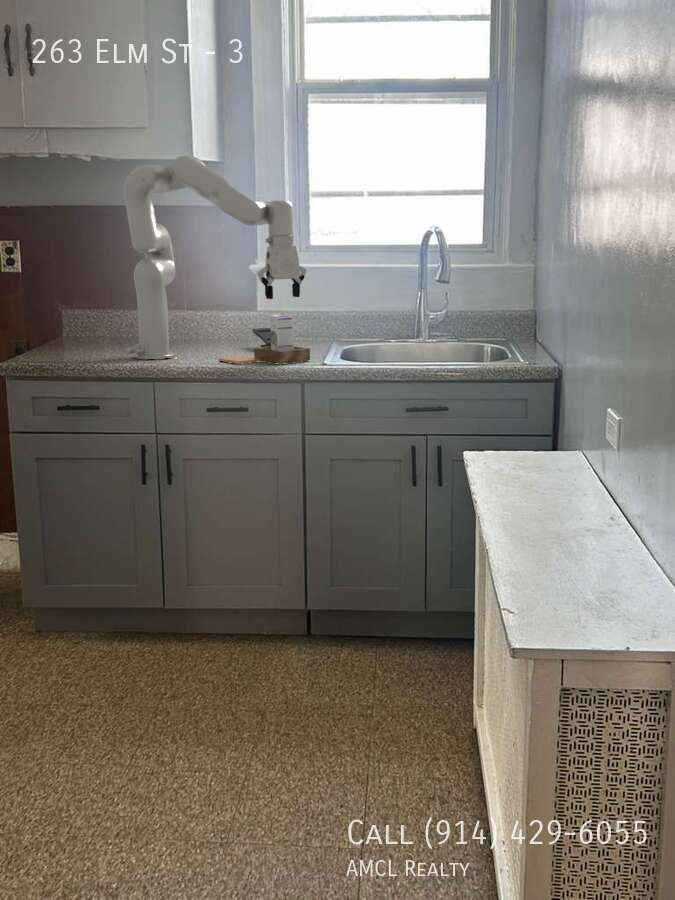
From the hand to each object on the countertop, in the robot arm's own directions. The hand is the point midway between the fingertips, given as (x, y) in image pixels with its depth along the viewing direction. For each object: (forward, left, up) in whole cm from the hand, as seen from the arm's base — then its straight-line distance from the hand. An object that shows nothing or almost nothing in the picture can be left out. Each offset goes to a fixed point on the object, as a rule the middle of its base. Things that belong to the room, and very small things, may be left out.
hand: (282, 297), depth 326 cm
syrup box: (0, 0, -20) cm, 20 cm away
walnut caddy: (0, 0, -20) cm, 20 cm away
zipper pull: (+12, +20, -20) cm, 31 cm away
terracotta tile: (-10, +8, -20) cm, 24 cm away
